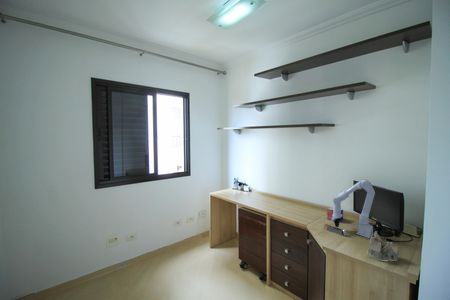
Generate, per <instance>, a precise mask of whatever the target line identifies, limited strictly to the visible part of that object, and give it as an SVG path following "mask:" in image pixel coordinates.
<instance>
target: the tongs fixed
mask: <svg viewBox="0 0 450 300" xmlns="http://www.w3.org/2000/svg"><path fill="white" fill-rule="evenodd" d="M327 225H328V224H327ZM327 225H325V224H324V225H323V230H324V231H328V232H331V233H333V234H336V235H340V236H343V237H347V234H348V233H347V229H342V230H343V231H342V230H339V229H340V228H339V229H336V228H337V227H336V228H333V227H334V226H333V227H330V226H331V225H330V226H327Z"/></svg>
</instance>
